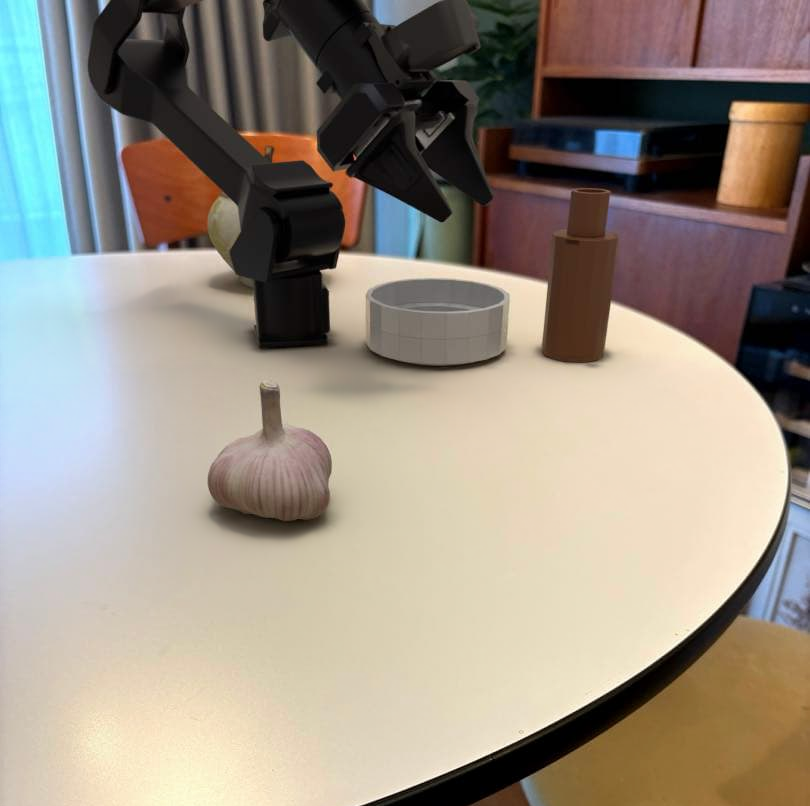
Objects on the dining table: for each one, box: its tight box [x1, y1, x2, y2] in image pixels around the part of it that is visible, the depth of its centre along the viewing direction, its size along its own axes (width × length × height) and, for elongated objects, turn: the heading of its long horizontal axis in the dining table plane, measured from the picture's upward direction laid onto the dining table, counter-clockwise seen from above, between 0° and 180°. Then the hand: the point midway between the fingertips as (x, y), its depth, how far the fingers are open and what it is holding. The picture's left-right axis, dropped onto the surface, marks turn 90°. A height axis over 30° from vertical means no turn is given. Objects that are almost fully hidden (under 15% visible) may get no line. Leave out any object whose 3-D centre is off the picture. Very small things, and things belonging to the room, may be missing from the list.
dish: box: [365, 277, 511, 367], centre depth 76 cm, size 13×13×5 cm
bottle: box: [541, 187, 621, 363], centre depth 73 cm, size 6×6×14 cm
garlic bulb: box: [207, 380, 333, 522], centre depth 48 cm, size 8×7×8 cm
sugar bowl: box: [206, 145, 275, 288], centre depth 97 cm, size 20×15×15 cm
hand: (469, 210), depth 65 cm, fingers open, 9 cm apart
